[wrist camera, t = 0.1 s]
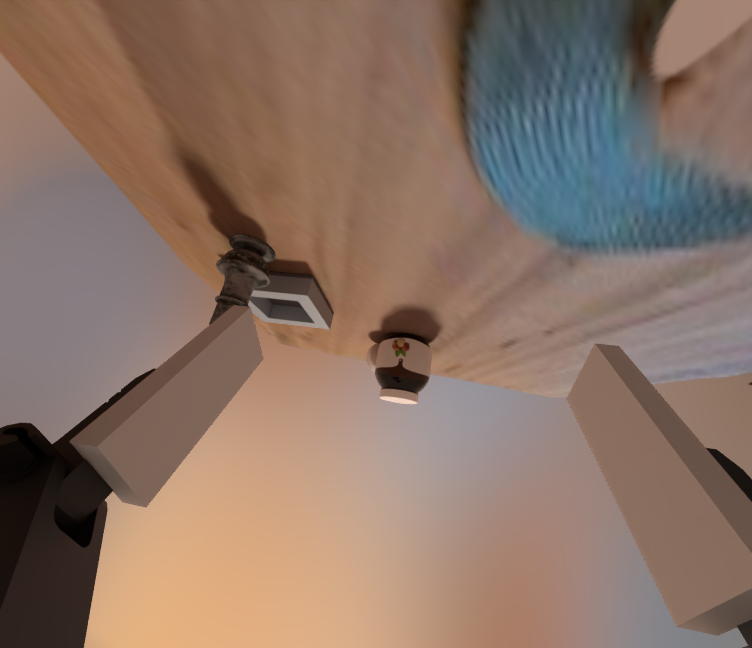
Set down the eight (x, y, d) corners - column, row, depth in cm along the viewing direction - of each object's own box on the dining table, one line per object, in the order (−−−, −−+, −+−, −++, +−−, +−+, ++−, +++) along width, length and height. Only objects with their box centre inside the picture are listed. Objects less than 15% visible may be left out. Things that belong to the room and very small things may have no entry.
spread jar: (437, 337, 53) (431, 403, 49) (422, 353, 64) (416, 408, 60) (372, 326, 53) (360, 390, 49) (368, 344, 64) (358, 398, 59)
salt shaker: (216, 230, 33) (173, 330, 28) (267, 235, 32) (230, 338, 28) (241, 260, 38) (207, 347, 34) (284, 265, 38) (256, 355, 33)
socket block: (230, 268, 41) (222, 287, 40) (313, 275, 39) (307, 295, 38) (267, 305, 52) (263, 321, 51) (333, 312, 50) (329, 329, 49)
